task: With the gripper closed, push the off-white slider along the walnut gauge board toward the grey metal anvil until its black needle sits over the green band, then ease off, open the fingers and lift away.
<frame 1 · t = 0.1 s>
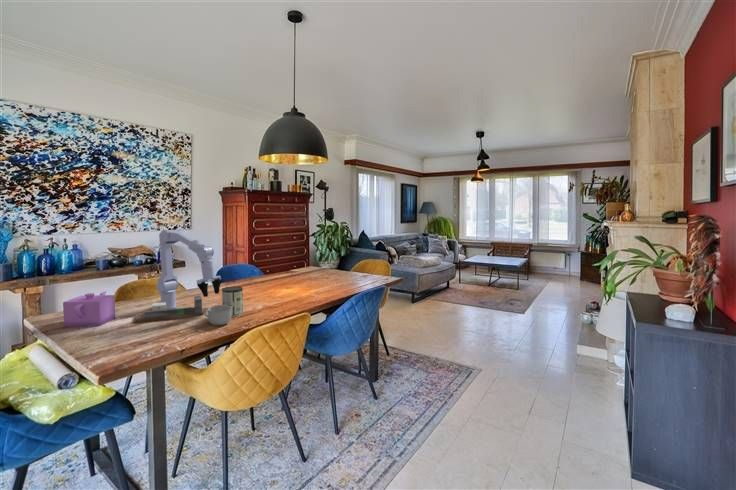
hand: (211, 295, 188), 11 cm above the table, tool pointing down, fingers open, 7 cm apart
purple box: (92, 321, 174), on the table
gauge base: (170, 315, 186), on the table
teacup: (217, 323, 175), on the table
coffee can: (232, 314, 191), on the table
gauge slider: (159, 309, 182), point 4 cm above the table, slide at 0.0 cm
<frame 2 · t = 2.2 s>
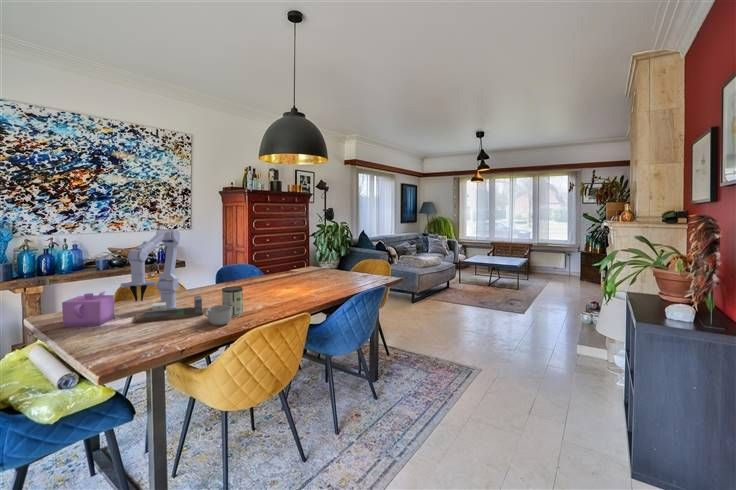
hand: (139, 300, 178), 9 cm above the table, tool pointing down, fingers closed
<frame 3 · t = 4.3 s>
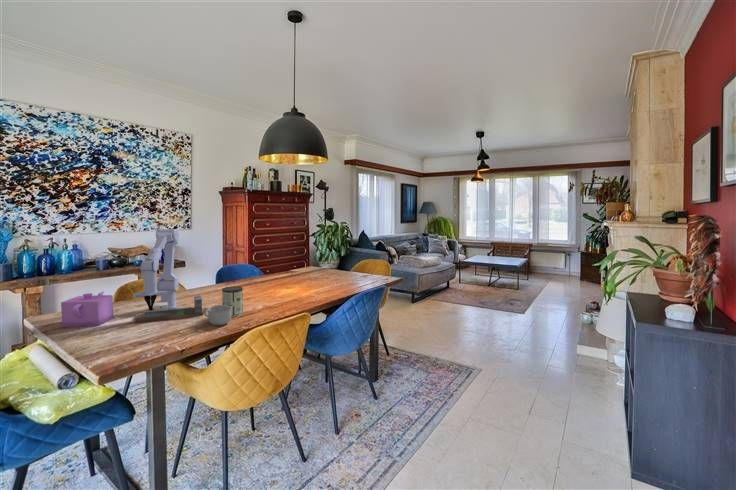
hand: (150, 310, 181), 4 cm above the table, tool pointing down, fingers closed
gauge slider: (161, 309, 182), point 4 cm above the table, slide at 0.8 cm, touching gripper
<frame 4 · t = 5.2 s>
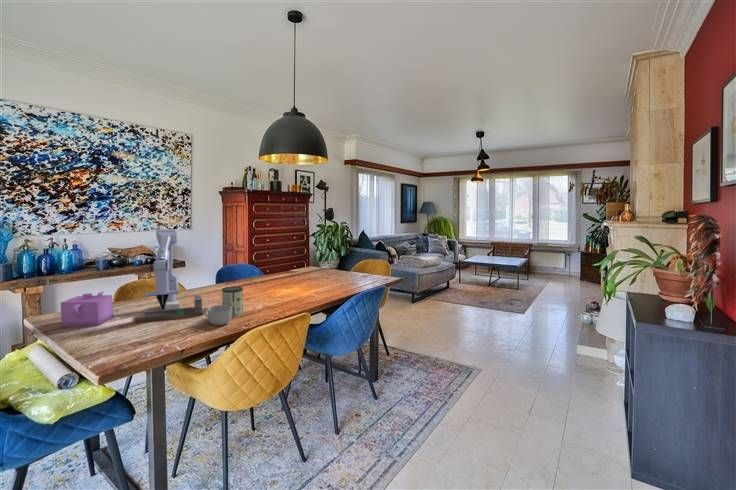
hand: (162, 309, 184), 4 cm above the table, tool pointing down, fingers closed
gauge slider: (172, 308, 185), point 4 cm above the table, slide at 6.1 cm, touching gripper
everything else where it was.
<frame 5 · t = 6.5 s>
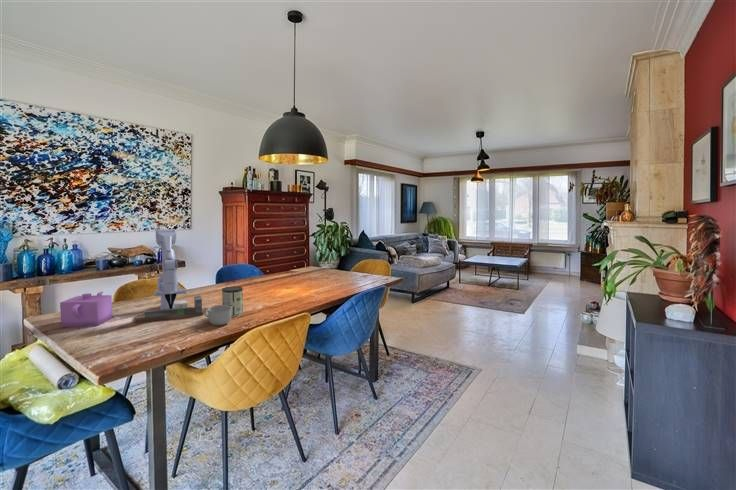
hand: (171, 308, 185), 4 cm above the table, tool pointing down, fingers closed
gauge slider: (180, 307, 186), point 4 cm above the table, slide at 9.7 cm, touching gripper
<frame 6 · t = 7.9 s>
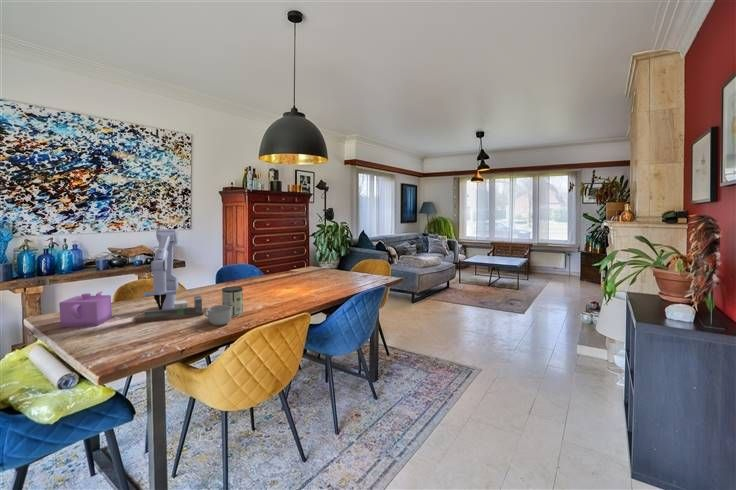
hand: (160, 309, 183), 4 cm above the table, tool pointing down, fingers closed
gauge slider: (180, 307, 186), point 4 cm above the table, slide at 9.7 cm
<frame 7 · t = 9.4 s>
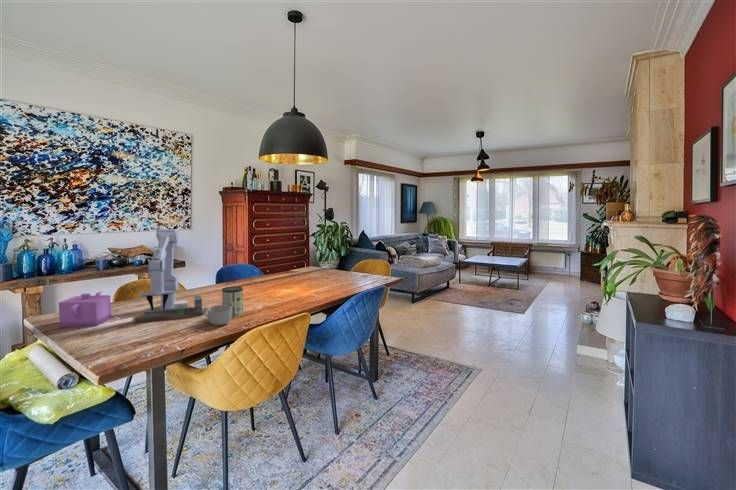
hand: (158, 309, 183), 4 cm above the table, tool pointing down, fingers open, 4 cm apart
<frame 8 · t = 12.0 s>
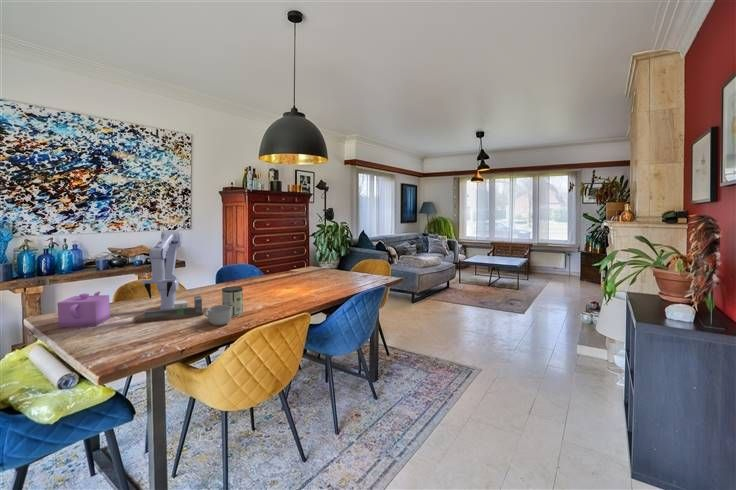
hand: (159, 297, 186), 9 cm above the table, tool pointing down, fingers open, 7 cm apart
at the end: gauge slider slide at 9.7 cm; the gripper is holding nothing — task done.
